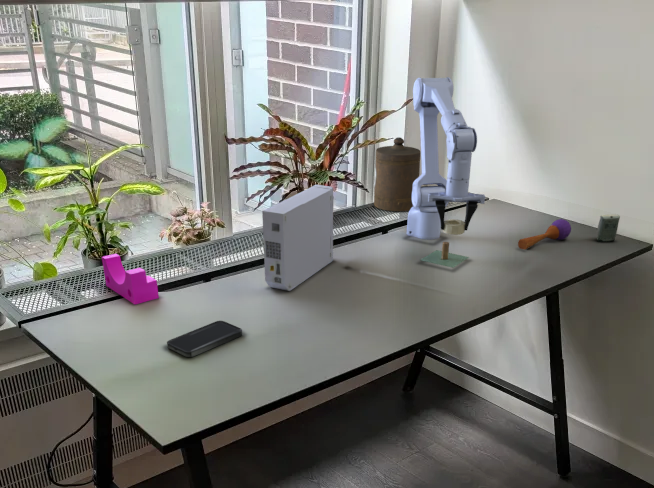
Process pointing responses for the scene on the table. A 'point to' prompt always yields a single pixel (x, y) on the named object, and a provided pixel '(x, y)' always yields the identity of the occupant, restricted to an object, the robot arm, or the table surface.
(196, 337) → the phone
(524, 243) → the maraca
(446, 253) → the tape stand
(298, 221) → the game console
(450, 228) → the tape roll
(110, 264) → the toy block
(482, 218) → the table surface
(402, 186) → the wooden container
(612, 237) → the grey upright rounded block
